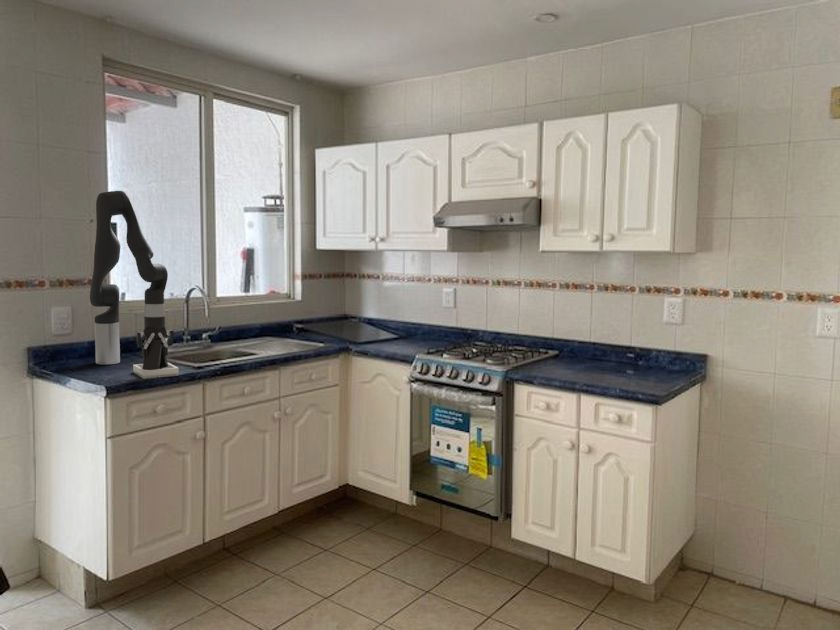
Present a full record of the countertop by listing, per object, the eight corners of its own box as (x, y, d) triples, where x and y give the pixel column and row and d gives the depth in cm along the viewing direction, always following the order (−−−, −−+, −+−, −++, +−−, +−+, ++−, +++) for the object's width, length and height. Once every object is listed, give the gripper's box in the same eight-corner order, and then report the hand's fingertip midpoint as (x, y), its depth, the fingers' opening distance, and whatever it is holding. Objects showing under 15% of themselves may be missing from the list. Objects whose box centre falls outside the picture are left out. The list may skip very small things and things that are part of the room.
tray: (133, 372, 253) (133, 364, 253) (167, 369, 261) (167, 361, 261) (143, 378, 242) (143, 371, 241) (178, 375, 250) (178, 367, 249)
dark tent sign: (153, 365, 256) (153, 336, 255) (168, 366, 255) (167, 336, 254) (142, 369, 247) (141, 339, 246) (157, 370, 247) (156, 339, 245)
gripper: (137, 317, 242) (138, 360, 243) (176, 315, 250) (177, 357, 252) (132, 314, 248) (133, 357, 249) (170, 313, 256) (171, 354, 258)
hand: (155, 357), depth 251 cm, fingers closed on dark tent sign, 6 cm apart
